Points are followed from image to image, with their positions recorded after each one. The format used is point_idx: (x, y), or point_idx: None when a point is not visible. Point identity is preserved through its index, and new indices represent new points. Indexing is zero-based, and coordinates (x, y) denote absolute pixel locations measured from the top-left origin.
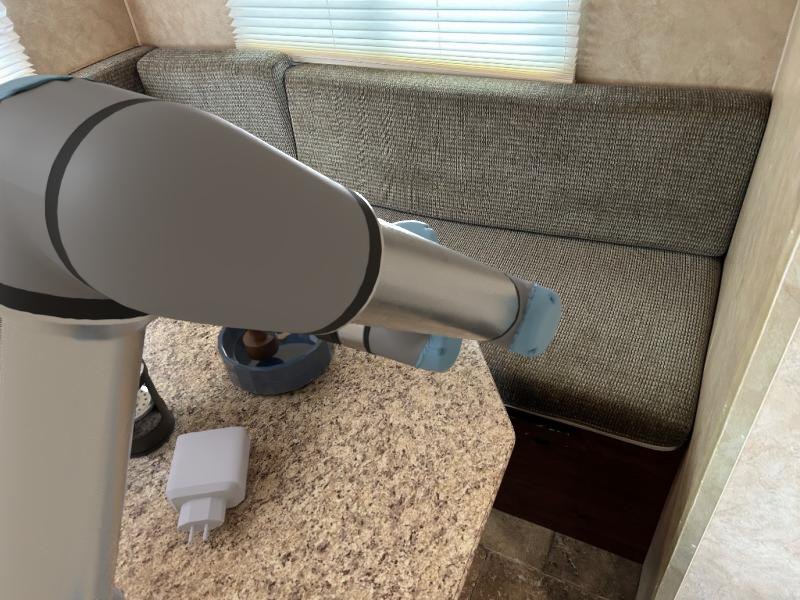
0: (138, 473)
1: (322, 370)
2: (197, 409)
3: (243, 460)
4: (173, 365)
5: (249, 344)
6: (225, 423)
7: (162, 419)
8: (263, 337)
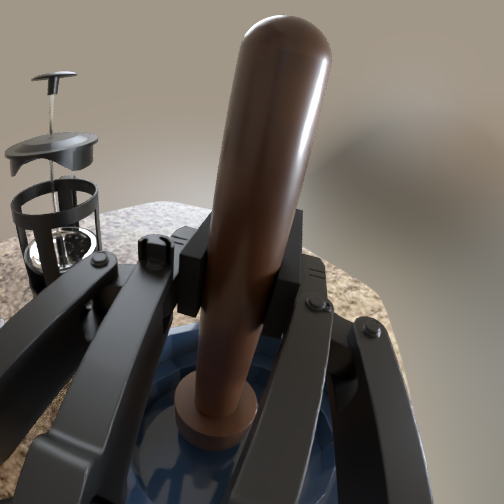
0: (15, 305)
1: None
2: None
3: None
4: None
5: (182, 387)
6: (60, 391)
7: None
8: (205, 413)
